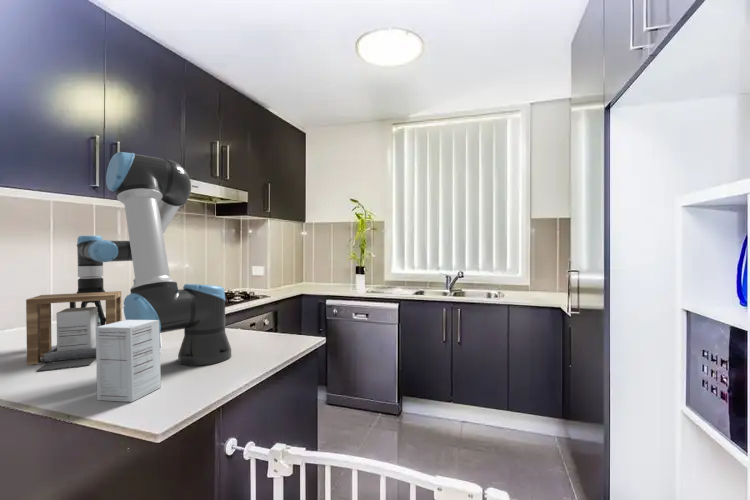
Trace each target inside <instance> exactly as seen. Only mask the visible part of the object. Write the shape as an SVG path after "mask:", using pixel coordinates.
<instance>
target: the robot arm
mask: <svg viewBox="0 0 750 500" xmlns="http://www.w3.org/2000/svg"><path fill="white" fill-rule="evenodd" d="M105 183H106V188H107V190H109V191H111V192H116V199H117V200H118V202H120V203H122V204H123V205H124V211H125V218H126V225H127V226H126V227H127V231H128V233H127V234H128V240H107V239H104V238H103V237H102V236H101V235H79V236H78V237H77V242H76V243H77V244H76V247H77V277H78V279H77V291H76V293H94V292H106V290H105V289H104V278H103V276H104V263H110V262H132V266H133V274H134V279H135V281H136V283H135V284H134V283H133V285H132V287H130V292H129V294H128V295H126V296H125V298H124V300H123V305H124V306H123V315H124V319H125V320H159V333H161V334H162V333H168V332H173V331H179V330H184V332H183V333H184V335H183V339H182V341H181V345H180V349H179V351H178V354H177V362H178V364H180V365H183V366H205V365H206V366H207V365H212V364H213V365H214V364H217V363H221V362H223V361H226V360H228V359H230V358H231V357H232V347H231V343H230V341H229V338H228V336H227V333H226V299H227V298H226V293H225V288H224V287H222V286H220V285H214V284H213V285H212V284H199V283H198V284H197V283H194V284H193V283H185V284H184V285H183V287H182V289H179V288H178V282H177V281H176V280H174V279H173V278H172V277H171V275H170V269H169V263H168V262H169V261H168V256H167V250H166V243H165V239H164V233H165V231H166V229H167V228H168V226H169V225H170V223H171V222H172V220H173V218H174V216H175V215H176V214H177V212H178V210H179V209H180V207H183V206H184V205H185V204H186V203H187V201H188V200H189V198H190V196H191V193H192V192H191V191H192V182H191V179H190V175H189V174H188V172H187V171H186V169H185V168H184V167H183V166H182V165H181V164H180V163H178V162H176V161H174V160H173V159H172V160H171V159H168V158H161V157H160V158H159V157H154V156H149V155H143V154H136V153H134V152H123V151H118V152H115V154H114V155H112V157H111V158H110V160H109V164H108V165H107V170H106V174H105ZM103 239H104V240H103ZM80 303H81V304H80V308H84V307H87V306H88V304H91V303H92V304H94V307H97V311H98V315H99V318H100V322H99V323H98V327H99V326H103V325H106V315H105V314H104V311H103V307H102V303H101V300H100V301H82V302H80ZM76 305H77V302H69V308H77V307H76Z"/></svg>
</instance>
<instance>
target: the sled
mask: <svg viewBox="0 0 750 500" xmlns="http://www.w3.org/2000/svg"><path fill="white" fill-rule="evenodd" d="M99 322H100V318H99V315H98V323H99ZM95 357H96V348H89V349H79V350H69V351H59V352H57V344H56V345H54V346H52V349H50V350H49V351H47V352H46V353H45V354H44V356H43V359H44V362H43V363H50V362H59V361H68V360H77V359H86V358H95Z"/></svg>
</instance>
